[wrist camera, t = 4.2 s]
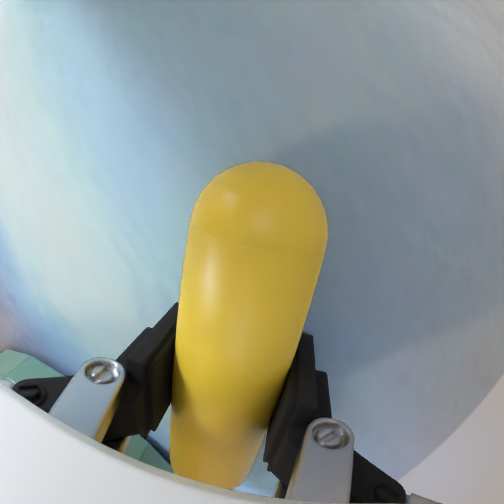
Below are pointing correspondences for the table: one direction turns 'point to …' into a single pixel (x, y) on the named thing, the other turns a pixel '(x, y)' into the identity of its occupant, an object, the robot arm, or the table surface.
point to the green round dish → (29, 367)
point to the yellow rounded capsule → (241, 315)
